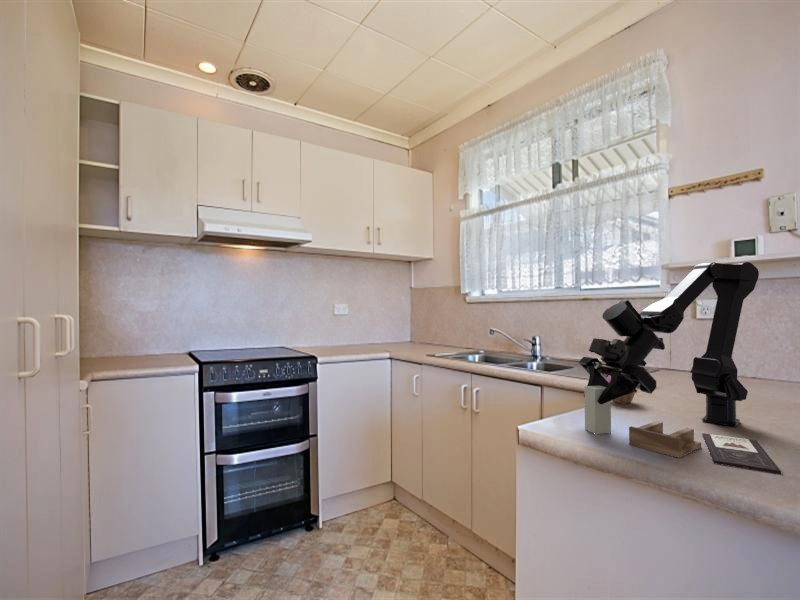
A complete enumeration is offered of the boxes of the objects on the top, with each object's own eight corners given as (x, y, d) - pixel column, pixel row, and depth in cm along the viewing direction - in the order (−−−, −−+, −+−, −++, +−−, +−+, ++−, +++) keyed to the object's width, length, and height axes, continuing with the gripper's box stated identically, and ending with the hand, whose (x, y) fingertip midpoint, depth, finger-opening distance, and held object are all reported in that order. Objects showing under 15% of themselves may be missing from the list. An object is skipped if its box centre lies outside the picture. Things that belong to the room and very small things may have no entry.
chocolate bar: (713, 460, 72) (702, 433, 88) (713, 465, 72) (702, 437, 88) (780, 470, 68) (756, 440, 83) (781, 476, 67) (756, 444, 83)
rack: (652, 435, 88) (652, 419, 88) (701, 447, 80) (701, 430, 80) (629, 444, 82) (629, 427, 82) (678, 458, 75) (678, 439, 75)
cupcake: (601, 398, 123) (600, 365, 123) (631, 399, 121) (631, 366, 121) (612, 405, 114) (611, 370, 114) (644, 406, 113) (644, 370, 113)
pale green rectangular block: (600, 428, 93) (599, 385, 93) (611, 433, 89) (610, 388, 89) (584, 429, 92) (584, 386, 92) (595, 434, 88) (594, 389, 89)
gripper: (585, 324, 101) (546, 369, 98) (644, 328, 82) (597, 384, 80) (613, 354, 102) (574, 400, 100) (676, 365, 84) (632, 421, 82)
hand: (592, 400), depth 90 cm, fingers open, 4 cm apart
